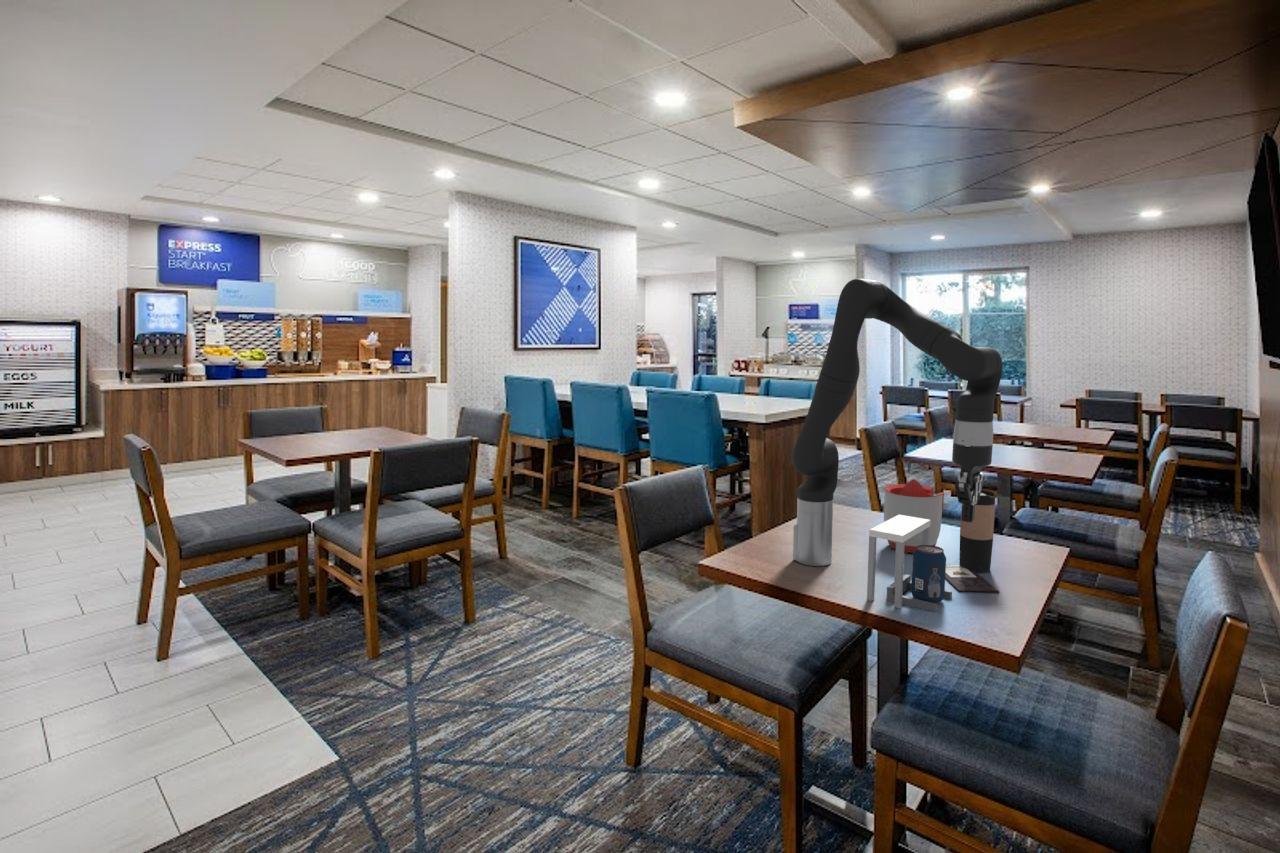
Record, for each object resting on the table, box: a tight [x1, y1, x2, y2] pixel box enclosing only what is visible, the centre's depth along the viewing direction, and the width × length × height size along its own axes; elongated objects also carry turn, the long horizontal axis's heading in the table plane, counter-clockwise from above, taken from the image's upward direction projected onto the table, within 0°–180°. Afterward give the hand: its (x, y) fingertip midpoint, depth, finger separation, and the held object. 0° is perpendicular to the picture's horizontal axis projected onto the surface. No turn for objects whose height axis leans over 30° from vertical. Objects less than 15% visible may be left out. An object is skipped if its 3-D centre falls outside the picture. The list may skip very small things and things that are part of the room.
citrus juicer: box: [883, 478, 949, 554], centre depth 187 cm, size 16×17×20 cm
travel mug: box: [958, 489, 996, 574], centre depth 170 cm, size 8×8×20 cm
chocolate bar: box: [945, 564, 1000, 594], centre depth 163 cm, size 9×1×18 cm
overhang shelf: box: [866, 515, 953, 613], centre depth 151 cm, size 14×17×16 cm
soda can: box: [910, 545, 947, 605], centre depth 150 cm, size 7×7×12 cm
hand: (967, 521), depth 142 cm, fingers closed
